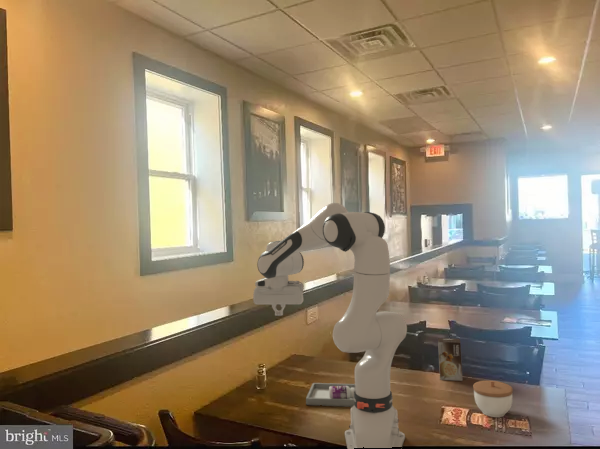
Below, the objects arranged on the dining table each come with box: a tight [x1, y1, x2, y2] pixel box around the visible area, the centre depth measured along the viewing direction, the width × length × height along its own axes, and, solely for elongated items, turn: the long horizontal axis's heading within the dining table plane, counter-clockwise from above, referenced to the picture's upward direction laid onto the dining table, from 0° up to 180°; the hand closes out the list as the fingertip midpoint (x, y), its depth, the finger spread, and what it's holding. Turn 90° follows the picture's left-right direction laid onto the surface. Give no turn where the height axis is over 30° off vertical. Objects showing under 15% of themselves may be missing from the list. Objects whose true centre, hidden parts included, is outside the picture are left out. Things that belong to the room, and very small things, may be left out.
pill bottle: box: [329, 386, 355, 399], centre depth 175 cm, size 5×5×10 cm
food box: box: [437, 337, 464, 382], centre depth 195 cm, size 9×6×16 cm
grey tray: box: [305, 382, 355, 408], centre depth 179 cm, size 16×21×2 cm
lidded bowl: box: [472, 380, 514, 418], centre depth 160 cm, size 13×13×11 cm
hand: (279, 315), depth 187 cm, fingers closed
